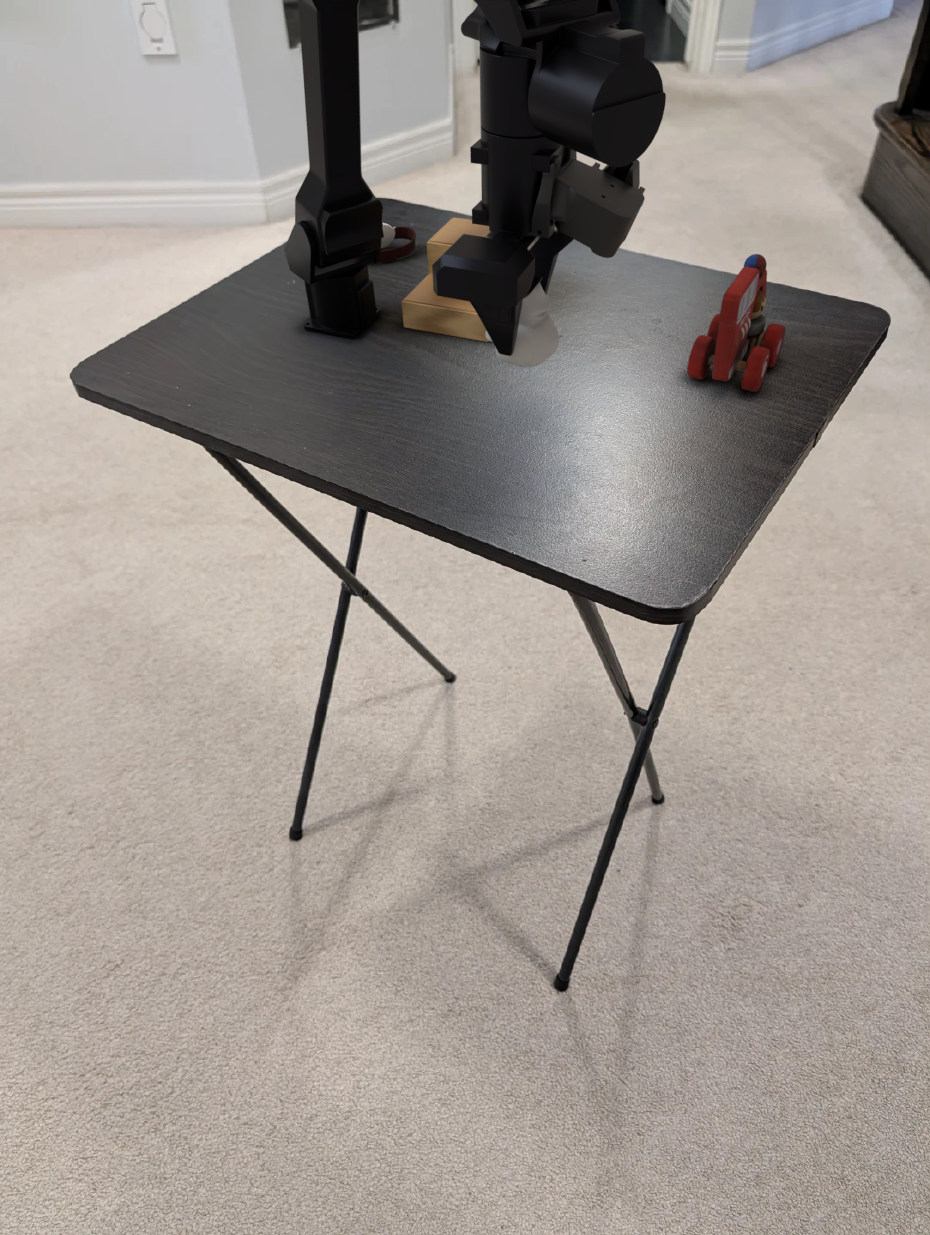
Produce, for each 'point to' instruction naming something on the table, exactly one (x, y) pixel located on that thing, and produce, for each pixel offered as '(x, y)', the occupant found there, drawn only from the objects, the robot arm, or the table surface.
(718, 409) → the table surface
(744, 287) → the toy fire truck
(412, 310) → the step shelf
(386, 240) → the watch
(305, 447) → the table surface
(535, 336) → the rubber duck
